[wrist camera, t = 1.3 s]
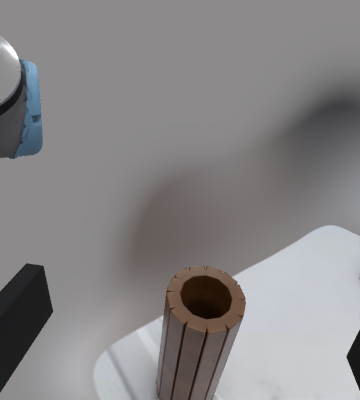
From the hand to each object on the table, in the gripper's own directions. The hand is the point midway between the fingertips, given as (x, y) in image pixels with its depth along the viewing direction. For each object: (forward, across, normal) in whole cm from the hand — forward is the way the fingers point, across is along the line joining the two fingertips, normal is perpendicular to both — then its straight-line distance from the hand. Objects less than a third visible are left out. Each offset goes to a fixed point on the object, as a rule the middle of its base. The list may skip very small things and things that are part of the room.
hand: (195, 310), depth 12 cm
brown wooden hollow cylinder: (+8, 0, -20) cm, 22 cm away
